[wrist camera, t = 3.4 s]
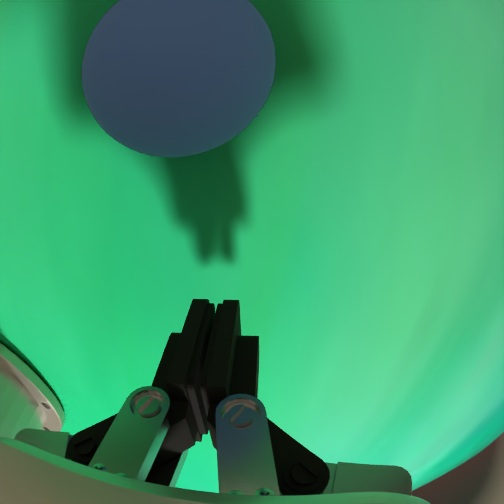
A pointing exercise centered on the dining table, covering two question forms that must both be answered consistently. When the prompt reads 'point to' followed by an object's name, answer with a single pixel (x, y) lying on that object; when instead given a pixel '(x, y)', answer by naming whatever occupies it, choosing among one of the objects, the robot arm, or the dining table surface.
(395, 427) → the dining table surface
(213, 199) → the dining table surface
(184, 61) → the ball
